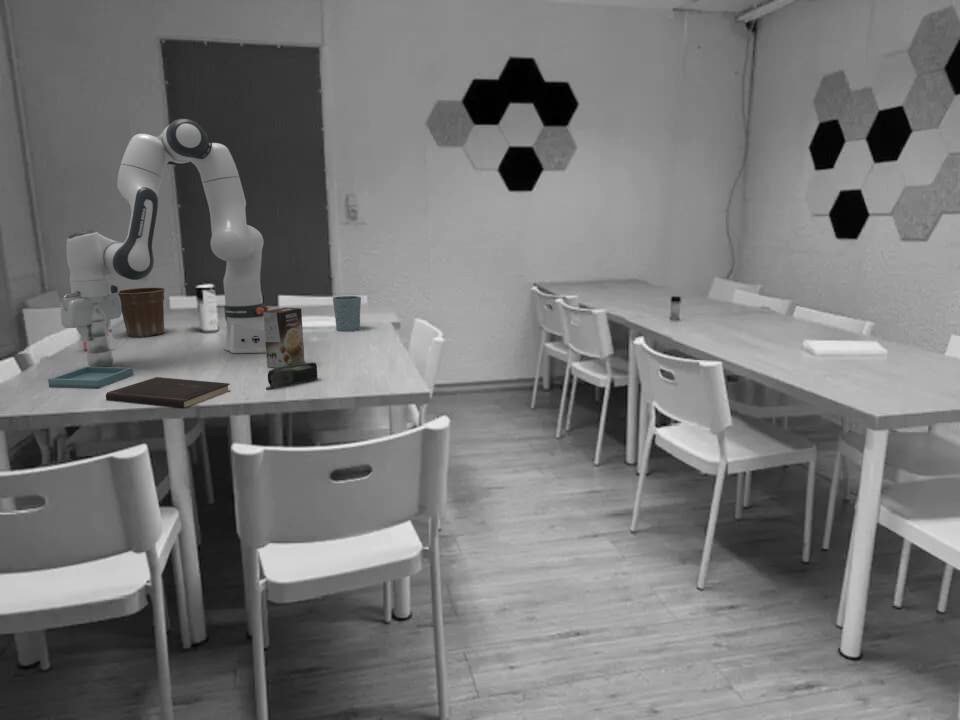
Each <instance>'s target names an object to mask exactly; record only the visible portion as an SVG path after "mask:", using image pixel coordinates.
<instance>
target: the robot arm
mask: <svg viewBox="0 0 960 720" xmlns="http://www.w3.org/2000/svg"><path fill="white" fill-rule="evenodd" d="M212 141H213V140H212V138H210V136H209V135H208V134H207V133H206V132H205V131H204V129H203V128H202V127H201V126H200V125H199V123H197V122H196V121H194V120H191V119H190V118H179V119H175V120H173V121H172V122H171V123H170V124H169V125H167V126H166V127H165V128H164V130H163V131H162V132H161V134H160V135H159V136H154V135H151V134H147V133H137V134H134V135H133V136H132V138H131V139H130V140H129V142H128V144H127V146H126V149H125V151H124V154H123V156H122V159H121V163H120V166H119V170H118V174H117V185H116V187H117V189H118V192H119V194H121V196H122V197H123V198H124V199H125V200H126V201H127V202H128V204H129V206H130V210H131V212H130V213H131V214H130V219H129V225H128V232H127V236H126V238H125V240H124V242H120V241H118V240H113V239H111V238H109V237H106V236H104V235H102V234H100V233H99V232H98V231H97V230H86V231H85V230H83V231H77V232H73V233H71V234H69V236H67V239H66V245H65V246H66V260H67V266H68V268H69V271H70V273H69V286H70V293H65V295H64V296H63V297H62V299H61V305H60V323H61V326H62V327H64V329H76V331H77V332H78V334H79V335H80V337H81V341H82V342H83V341H90V340H91V338H90V337H91V335H90V334H88V333H87V331H86V329H87V325H90V324H92V314H93V311H94V310H93V308H94V306H93V305H92V304H94V303H99V305H98V306H99V307H100V308H101V309H102V310H103V311H104V313H105V314H106V318H107V319H106V320H107V336H108V328H109V325H110V320H111V321H112V320H116V319H119V318H120V317H121V316H122V309H121V301H120V297H119V295H118V293H119V292H120V290H121V289H120V286H119V285H116V284H114V283H113V284H112V283H109V282H107V276H108V275H111V276H116V277H120V278H125V279H127V280H131V281H138V280H139V281H140V280H142V279H145V278H146V277H148V276H149V274H151V272H152V270H153V268H154V261H155V260H154V253H153V239H154V233H155V232H154V231H155V226H156V221H157V215H158V214H157V213H158V206H159V192H160V188H161V183H162V180H163V179H162V178H163V175H164V171H165V168H166V166H167V165H174V166H183V165H187V164H190V162H191V163H192V164H193V165H194V166H195V167H196V169H197V171H198V173H199V175H200V180H201V183H202V186H203V190H204V194H205V198H206V200H207V202H206V203H207V205H208V210H209V215H210V230H211V237H210V243H209V244H210V249H211V251H212V253H213V254H214V255H215V257H217V258H218V259H220V260H222V261H225V262H226V265H225V273H224V277H223V291H224V292H223V293H224V303H225V305H224V318H225V322H226V334H225V343H224V347H223V348H224V349H223V350H224V351H227V352H230V354H253V353H254V354H256V353H258V354H259V353H260V354H261V353H265V354H266V343H265V329H264V315H263V311H268V310H271V309H270V305H266V304H265V303H263V300H262V289H261V267H262V259H263V247H264V238H263V235H262V233H261V232H260V231H259V230H258V229H257V228H255V227H253V226H251V225H249V224H247V215H246V214H247V213H246V212H247V211H246V206H247V201H246V197H245V194H244V189H243V185H242V182H241V178H240V175H239V171H238V168H237V165H236V163H235V161H234V158H233V156H232V153H231V152H230V149H229V148H228V147H227V146H226V145H224V144H222V143H218V142H212Z"/></svg>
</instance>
